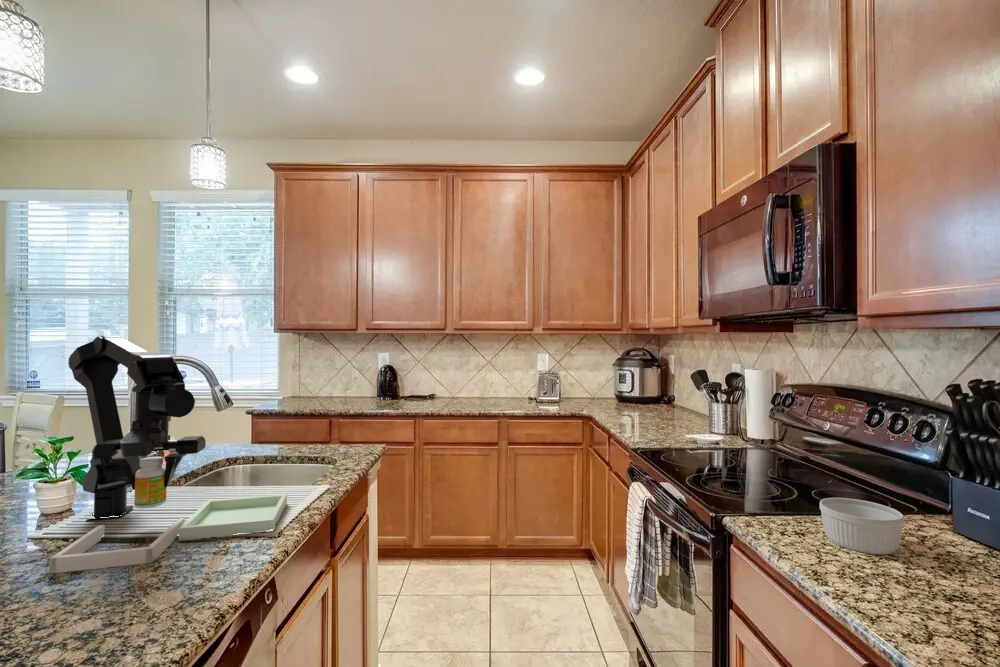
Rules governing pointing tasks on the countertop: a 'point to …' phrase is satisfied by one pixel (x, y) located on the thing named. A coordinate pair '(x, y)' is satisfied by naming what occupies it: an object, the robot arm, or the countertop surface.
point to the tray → (233, 517)
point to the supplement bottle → (150, 483)
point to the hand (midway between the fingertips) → (150, 487)
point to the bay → (109, 552)
